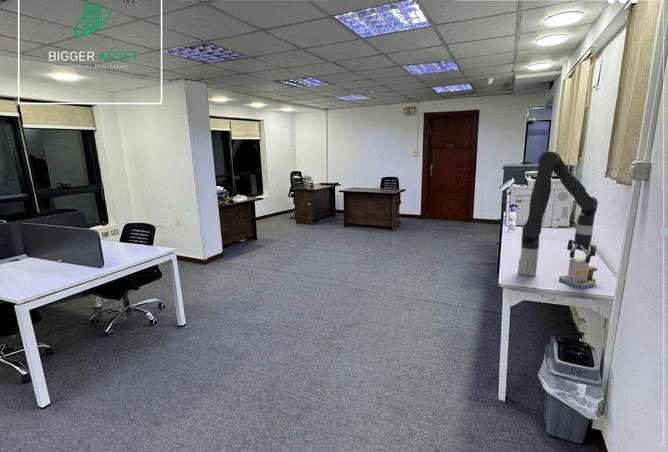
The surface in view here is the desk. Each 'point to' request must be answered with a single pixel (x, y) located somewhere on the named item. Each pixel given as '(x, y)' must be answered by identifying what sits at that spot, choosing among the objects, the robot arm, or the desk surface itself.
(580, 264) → the supplement box
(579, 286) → the tray
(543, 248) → the desk surface
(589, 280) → the stool
